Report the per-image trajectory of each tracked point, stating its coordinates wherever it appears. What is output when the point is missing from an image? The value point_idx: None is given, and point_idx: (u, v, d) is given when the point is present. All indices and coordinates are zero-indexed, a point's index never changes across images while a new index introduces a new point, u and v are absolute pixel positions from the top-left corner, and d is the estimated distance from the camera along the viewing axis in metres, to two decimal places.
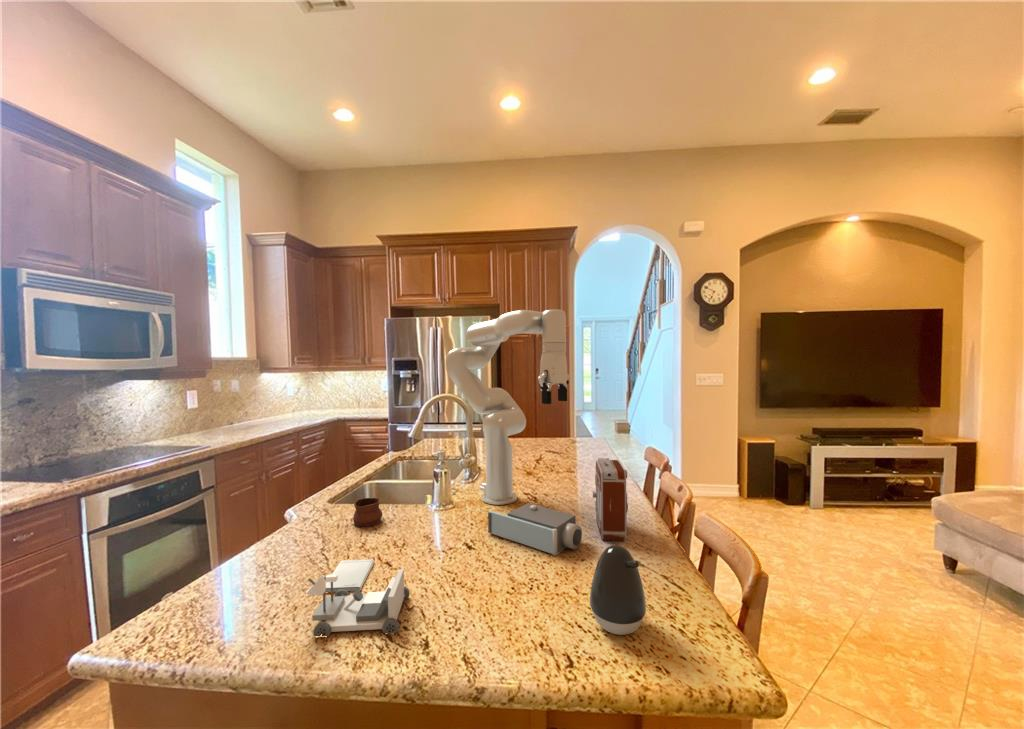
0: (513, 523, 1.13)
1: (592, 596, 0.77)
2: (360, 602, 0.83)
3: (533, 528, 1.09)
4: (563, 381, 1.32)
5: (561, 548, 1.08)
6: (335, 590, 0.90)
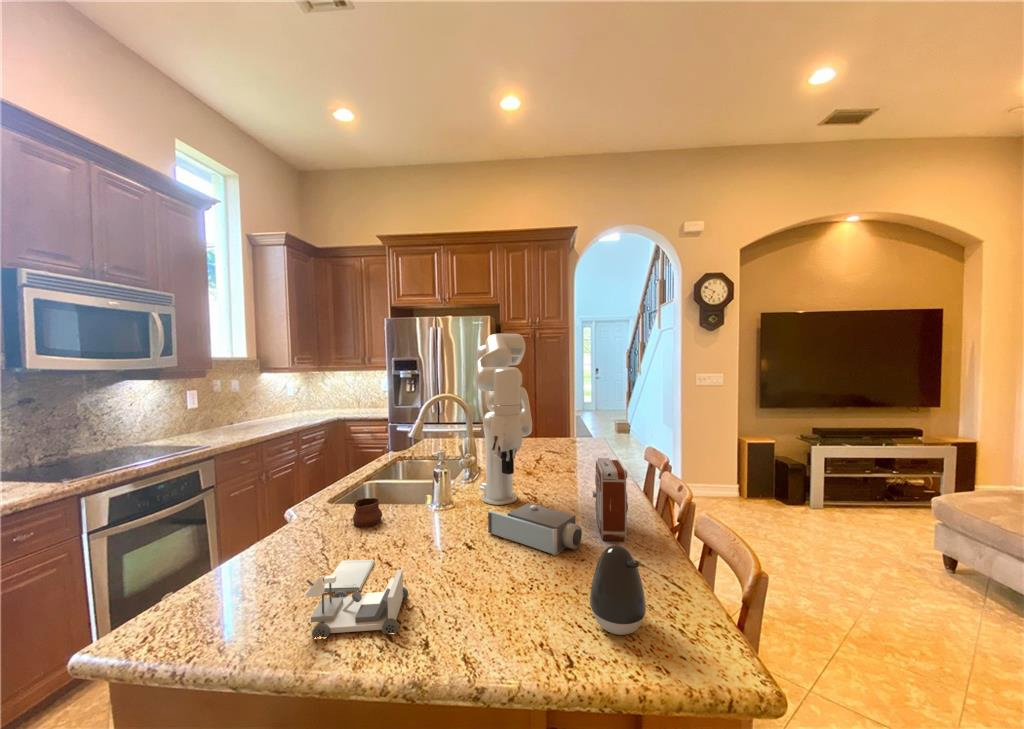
0: (513, 523, 1.13)
1: (592, 596, 0.77)
2: (358, 603, 0.83)
3: (533, 528, 1.09)
4: (517, 446, 1.21)
5: (561, 548, 1.08)
6: (335, 590, 0.90)
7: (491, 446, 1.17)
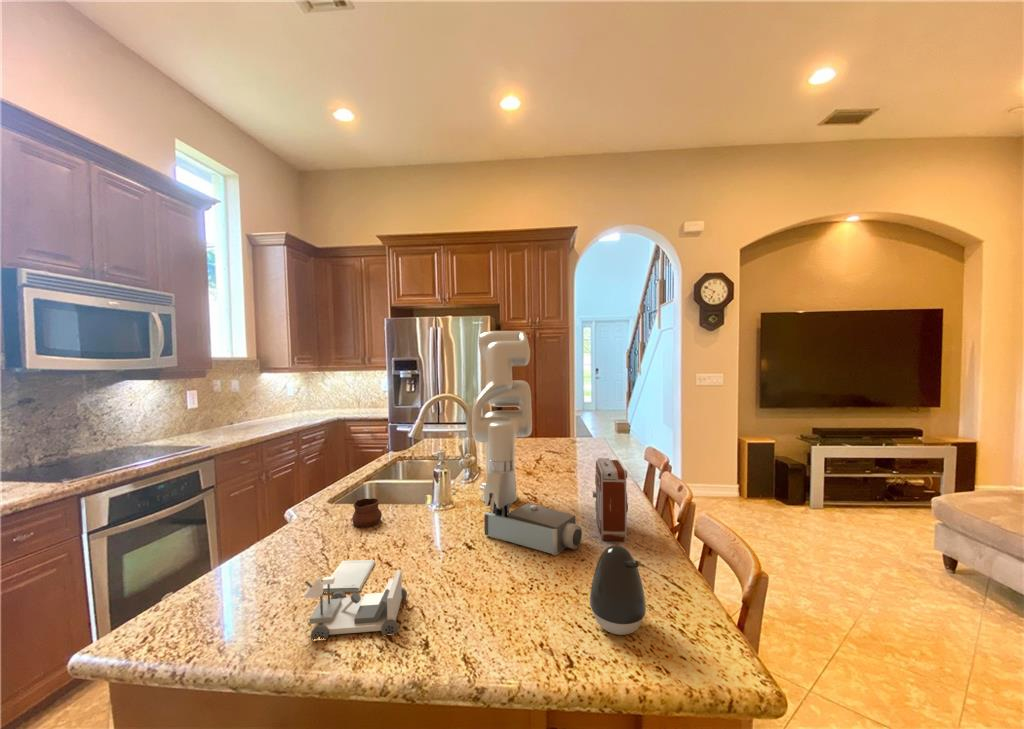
0: (511, 524, 1.12)
1: (592, 596, 0.77)
2: (357, 604, 0.83)
3: (532, 529, 1.08)
4: (511, 500, 1.19)
5: (561, 548, 1.08)
6: (334, 591, 0.90)
7: (486, 503, 1.15)
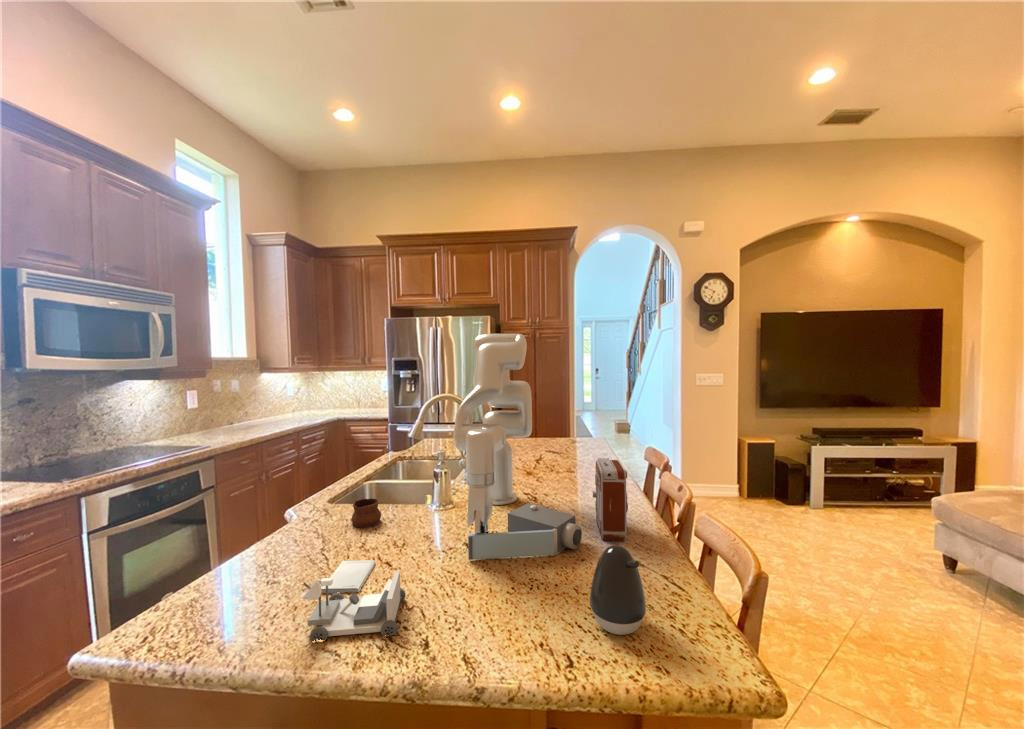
0: (504, 538, 1.03)
1: (592, 596, 0.77)
2: (356, 605, 0.82)
3: (530, 536, 1.04)
4: (490, 514, 1.08)
5: (561, 548, 1.08)
6: (334, 591, 0.90)
7: (470, 522, 1.02)
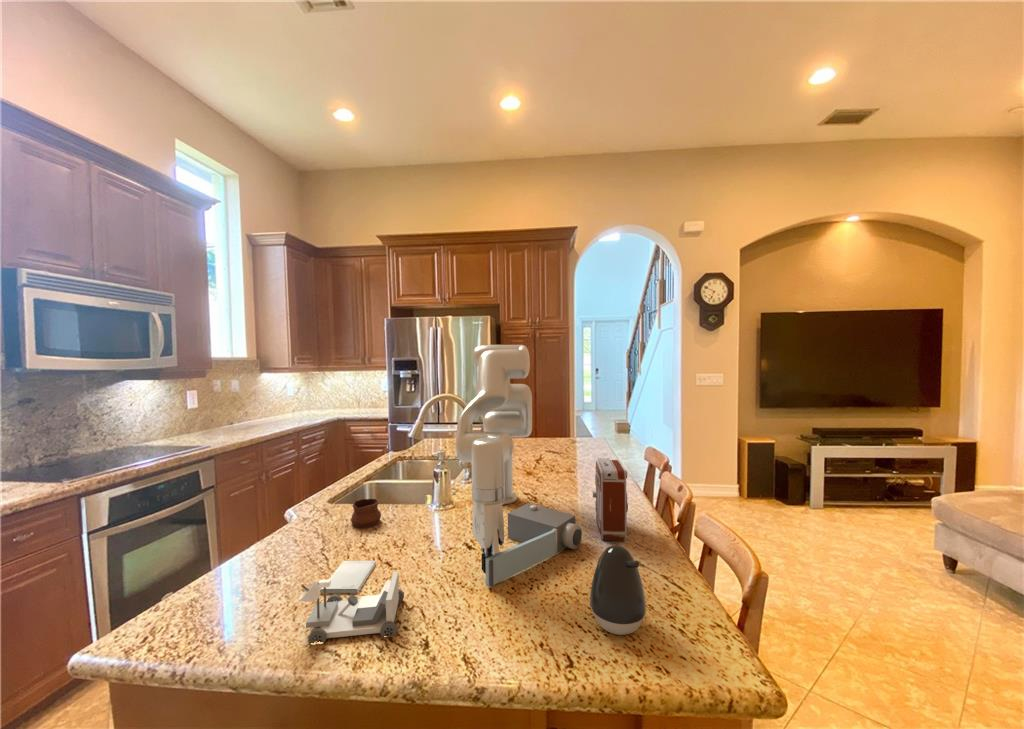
0: (518, 552, 0.96)
1: (592, 596, 0.77)
2: (354, 607, 0.82)
3: (539, 542, 1.01)
4: None
5: (561, 548, 1.08)
6: (333, 591, 0.89)
7: (488, 545, 0.90)
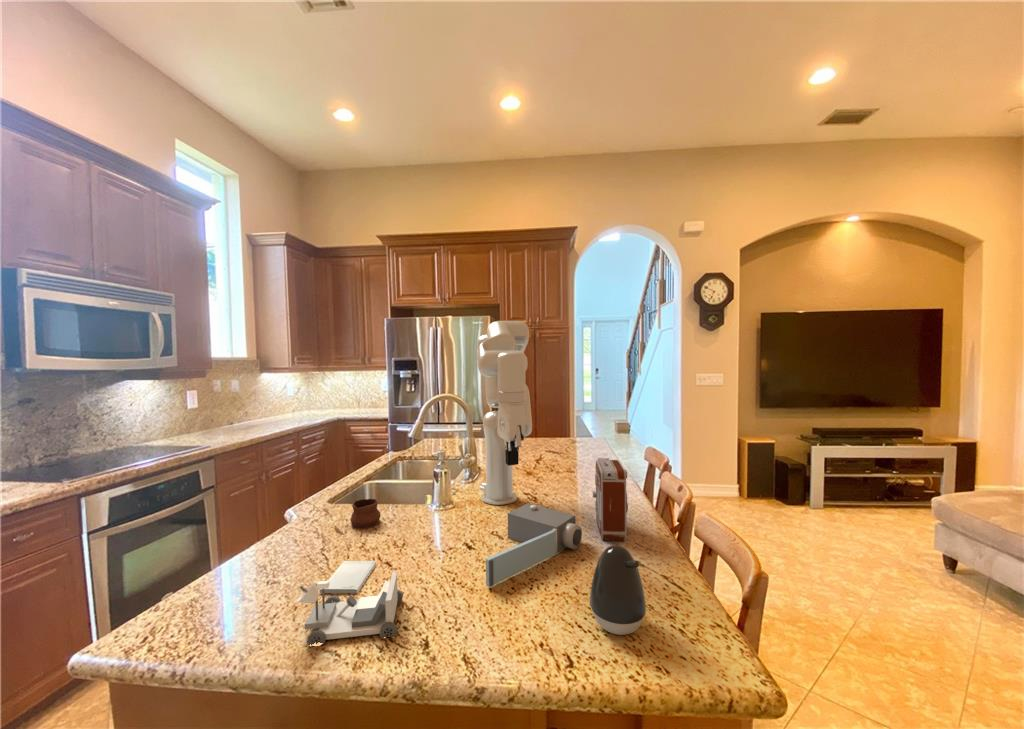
0: (518, 552, 0.96)
1: (592, 596, 0.77)
2: (353, 608, 0.82)
3: (539, 542, 1.01)
4: None
5: (561, 548, 1.08)
6: (333, 592, 0.89)
7: (512, 438, 1.07)
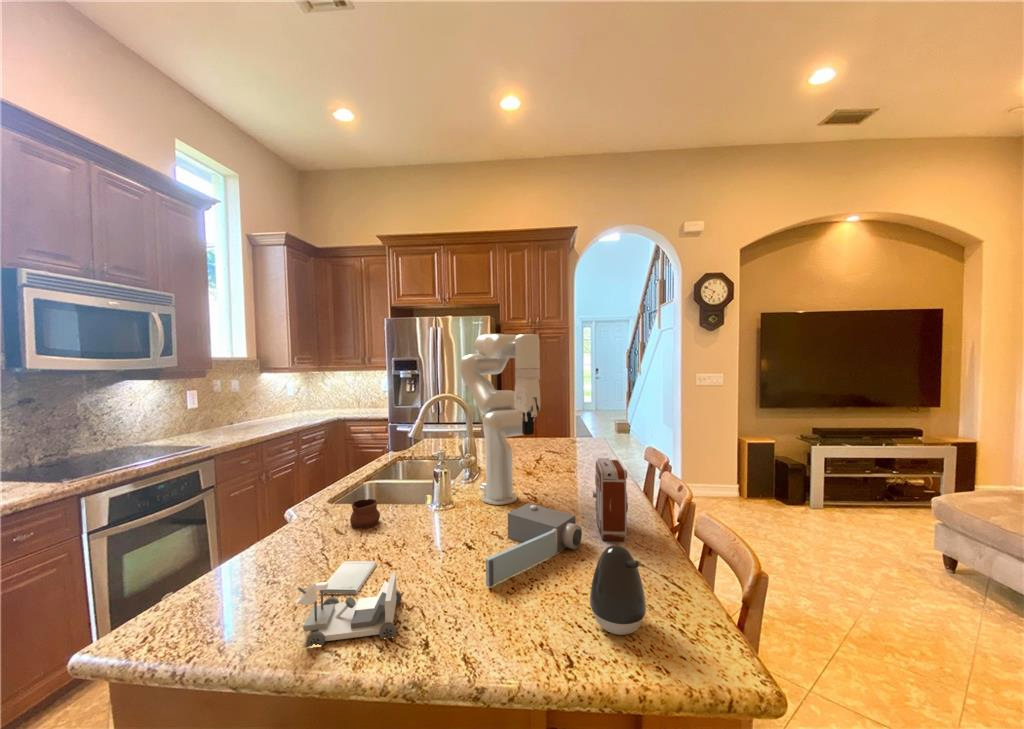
0: (518, 552, 0.96)
1: (592, 596, 0.77)
2: (351, 609, 0.81)
3: (539, 542, 1.01)
4: None
5: (561, 548, 1.08)
6: (332, 592, 0.89)
7: (529, 408, 1.21)
